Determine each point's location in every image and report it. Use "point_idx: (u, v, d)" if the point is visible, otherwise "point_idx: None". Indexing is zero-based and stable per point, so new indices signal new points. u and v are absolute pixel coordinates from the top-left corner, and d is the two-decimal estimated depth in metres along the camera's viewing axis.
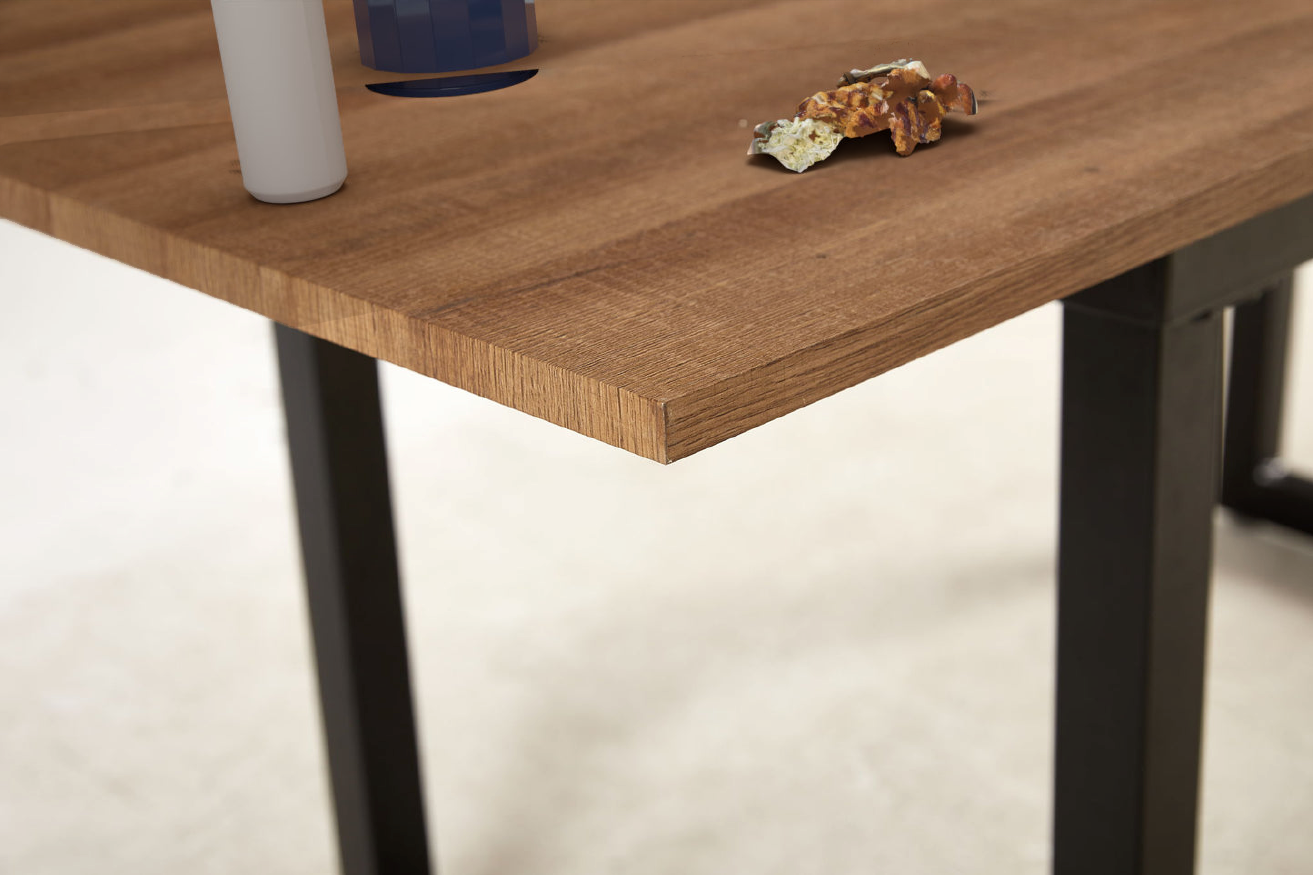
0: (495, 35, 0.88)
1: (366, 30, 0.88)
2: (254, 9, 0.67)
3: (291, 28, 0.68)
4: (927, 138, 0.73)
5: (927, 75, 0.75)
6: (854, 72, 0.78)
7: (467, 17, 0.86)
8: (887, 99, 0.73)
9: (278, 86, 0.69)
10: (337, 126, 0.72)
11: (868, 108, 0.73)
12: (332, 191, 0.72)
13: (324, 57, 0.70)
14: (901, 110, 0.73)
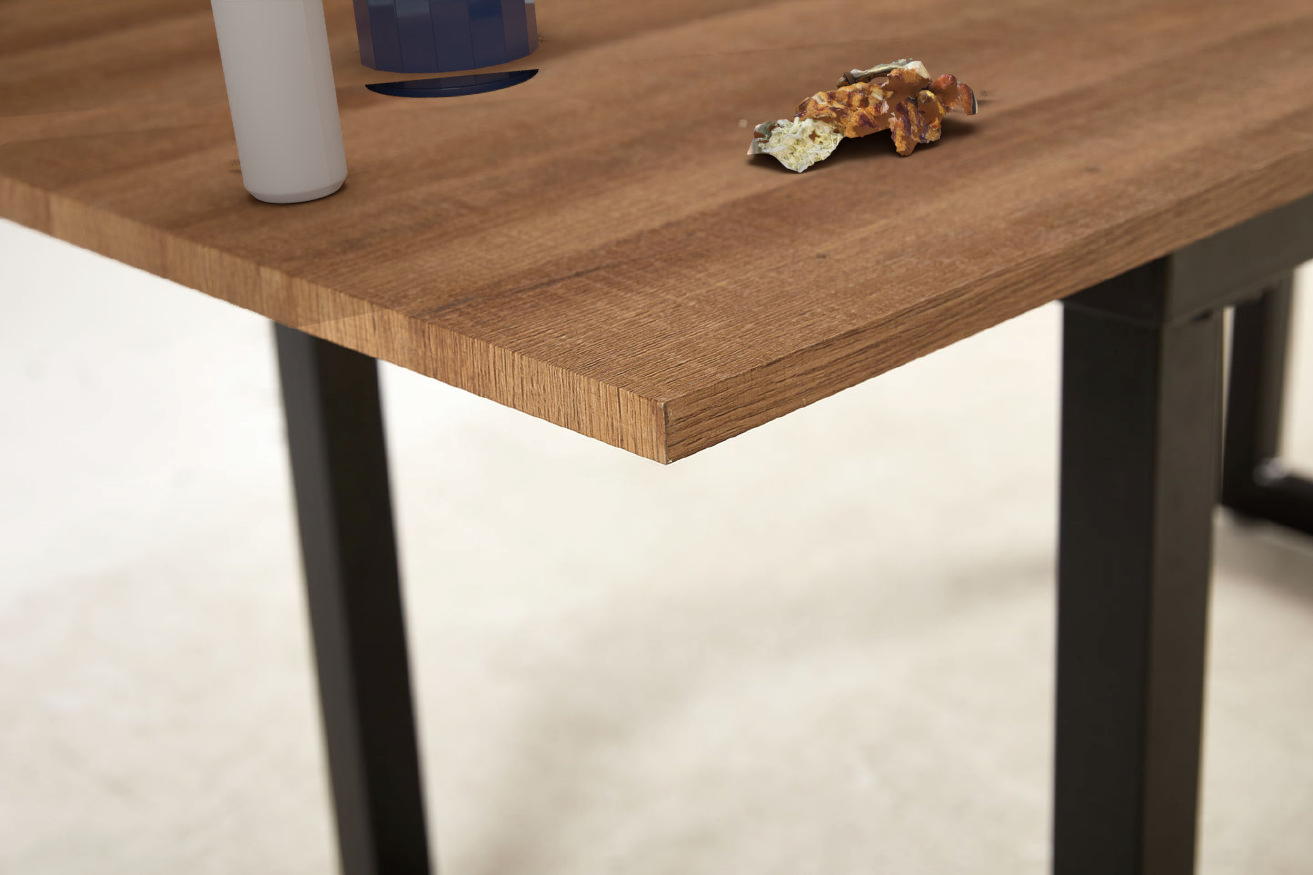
0: (495, 35, 0.88)
1: (366, 30, 0.88)
2: (254, 10, 0.67)
3: (292, 28, 0.68)
4: (927, 138, 0.73)
5: (927, 75, 0.75)
6: (854, 72, 0.78)
7: (467, 17, 0.86)
8: (887, 99, 0.73)
9: (278, 86, 0.69)
10: (337, 126, 0.72)
11: (868, 108, 0.73)
12: (332, 191, 0.72)
13: (324, 57, 0.70)
14: (901, 110, 0.73)
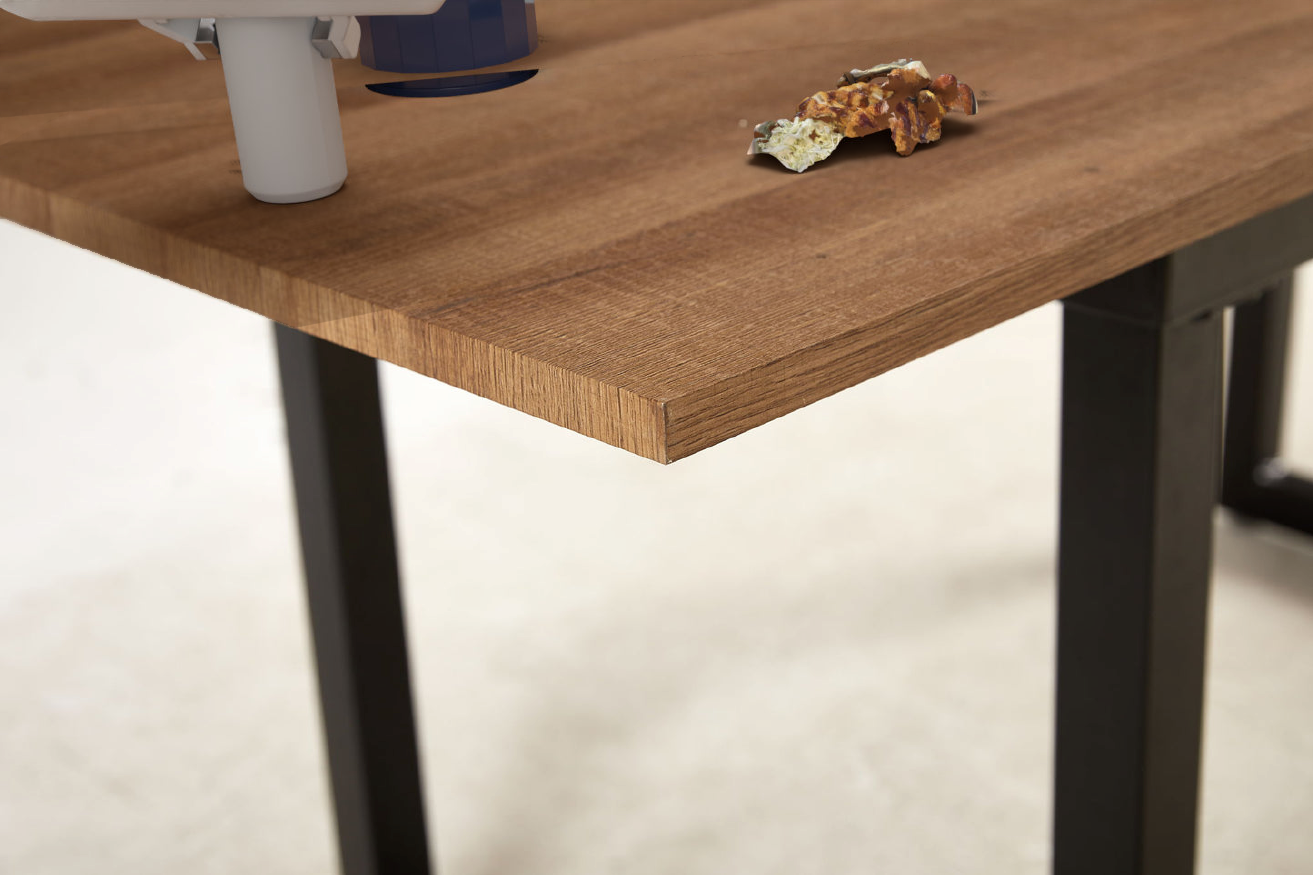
0: (495, 35, 0.88)
1: (366, 30, 0.88)
2: None
3: (292, 28, 0.68)
4: (927, 138, 0.73)
5: (927, 75, 0.75)
6: (854, 72, 0.78)
7: (467, 17, 0.86)
8: (887, 99, 0.73)
9: (279, 86, 0.69)
10: (337, 126, 0.72)
11: (868, 108, 0.73)
12: (332, 191, 0.72)
13: None
14: (901, 110, 0.73)
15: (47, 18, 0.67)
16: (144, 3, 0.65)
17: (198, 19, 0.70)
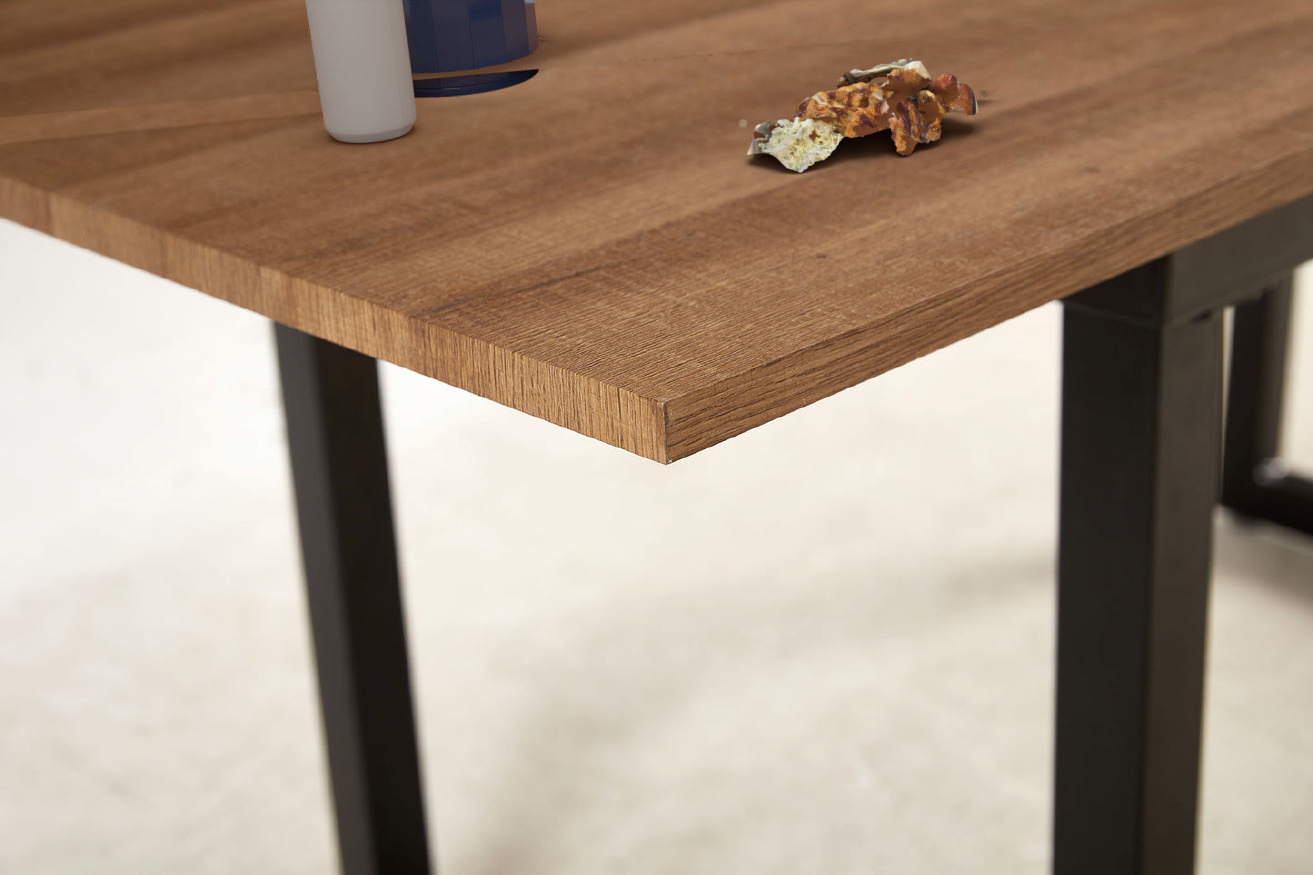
0: (495, 35, 0.88)
1: None
2: None
3: None
4: (927, 138, 0.73)
5: (927, 75, 0.75)
6: (854, 72, 0.78)
7: (467, 17, 0.86)
8: (887, 99, 0.73)
9: (359, 37, 0.77)
10: (409, 74, 0.80)
11: (868, 108, 0.73)
12: (404, 133, 0.81)
13: (399, 12, 0.79)
14: (901, 110, 0.73)
15: None
16: None
17: None
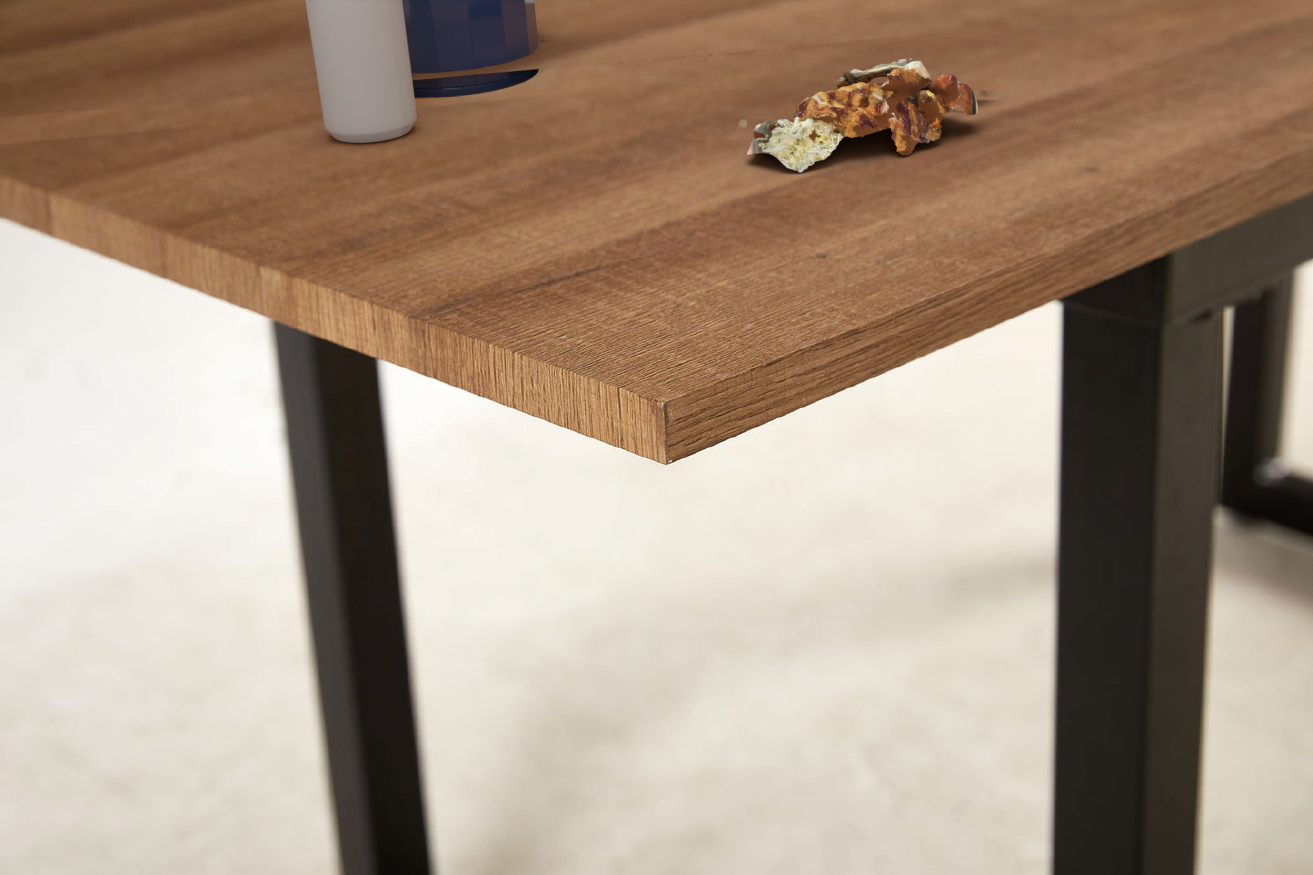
0: (495, 35, 0.88)
1: None
2: None
3: None
4: (927, 138, 0.73)
5: (927, 75, 0.75)
6: (854, 72, 0.78)
7: (467, 17, 0.86)
8: (887, 99, 0.73)
9: (359, 37, 0.77)
10: (409, 74, 0.80)
11: (868, 108, 0.73)
12: (404, 133, 0.81)
13: (399, 12, 0.79)
14: (901, 110, 0.73)
15: None
16: None
17: None
